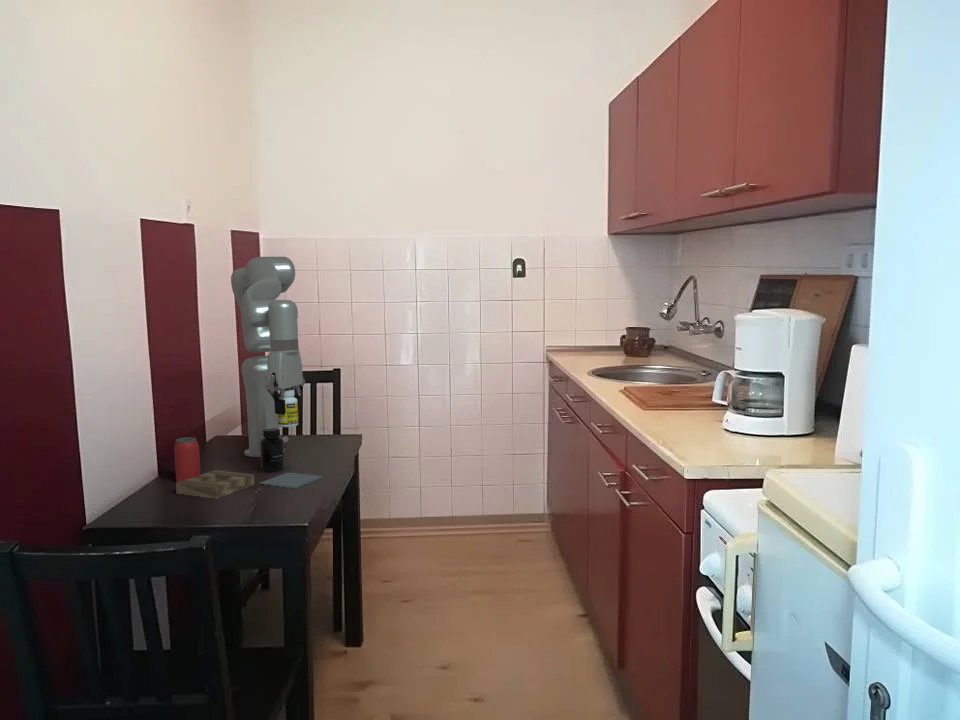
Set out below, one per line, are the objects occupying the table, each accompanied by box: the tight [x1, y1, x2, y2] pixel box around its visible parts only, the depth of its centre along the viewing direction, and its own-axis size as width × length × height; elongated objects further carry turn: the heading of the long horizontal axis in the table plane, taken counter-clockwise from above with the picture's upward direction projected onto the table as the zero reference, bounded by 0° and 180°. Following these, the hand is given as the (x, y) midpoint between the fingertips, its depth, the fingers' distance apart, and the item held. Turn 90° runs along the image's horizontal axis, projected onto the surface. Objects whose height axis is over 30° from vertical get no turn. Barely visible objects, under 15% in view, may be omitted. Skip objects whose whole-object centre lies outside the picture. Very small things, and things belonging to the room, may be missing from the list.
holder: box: [175, 469, 255, 500], centre depth 204 cm, size 14×14×3 cm
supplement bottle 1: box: [260, 428, 286, 473], centre depth 225 cm, size 7×7×12 cm
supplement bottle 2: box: [278, 389, 299, 428], centre depth 209 cm, size 5×5×10 cm
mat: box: [259, 472, 323, 489], centre depth 211 cm, size 12×12×1 cm
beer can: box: [173, 436, 202, 482], centre depth 214 cm, size 7×7×12 cm
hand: (287, 411), depth 209 cm, fingers closed on supplement bottle 2, 5 cm apart
